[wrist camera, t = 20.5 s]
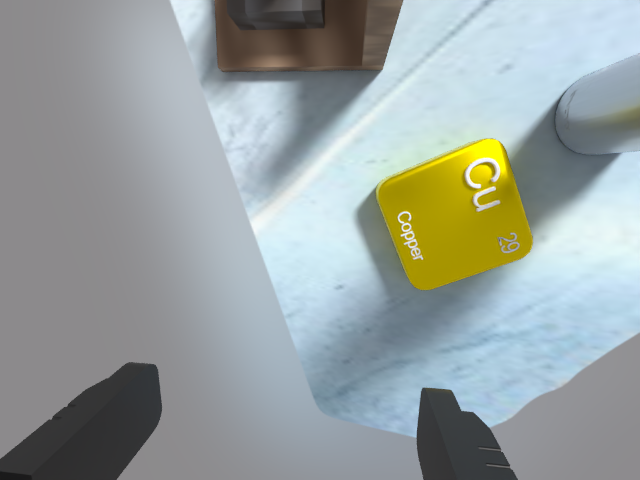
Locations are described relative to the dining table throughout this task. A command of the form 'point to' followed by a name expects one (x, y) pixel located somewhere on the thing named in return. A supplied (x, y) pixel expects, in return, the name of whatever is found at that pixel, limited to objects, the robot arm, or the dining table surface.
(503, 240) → the element tile
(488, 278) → the dining table surface
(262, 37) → the wooden peg insertion stand
